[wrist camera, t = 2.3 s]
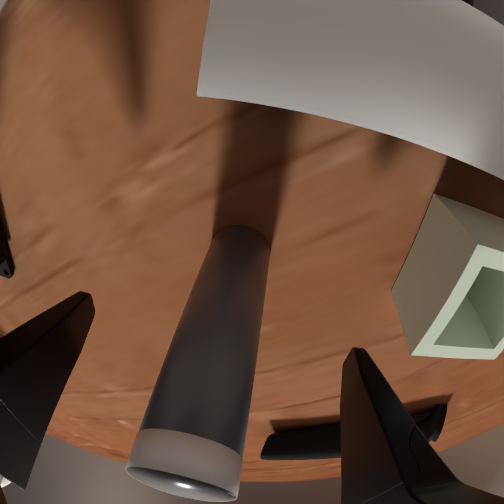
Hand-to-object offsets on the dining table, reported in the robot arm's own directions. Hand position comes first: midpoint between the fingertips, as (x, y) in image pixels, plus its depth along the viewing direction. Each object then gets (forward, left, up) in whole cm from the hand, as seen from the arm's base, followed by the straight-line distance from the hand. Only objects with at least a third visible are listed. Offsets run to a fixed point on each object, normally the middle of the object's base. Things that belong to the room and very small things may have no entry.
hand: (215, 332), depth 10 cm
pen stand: (+10, +2, -5) cm, 11 cm away
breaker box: (+6, +13, -5) cm, 15 cm away
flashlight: (0, 0, -5) cm, 5 cm away
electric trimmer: (+12, -15, -5) cm, 20 cm away
